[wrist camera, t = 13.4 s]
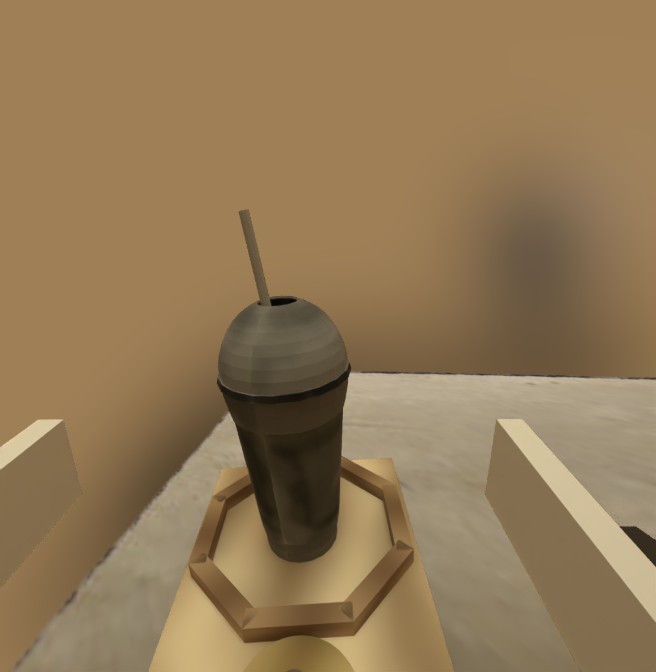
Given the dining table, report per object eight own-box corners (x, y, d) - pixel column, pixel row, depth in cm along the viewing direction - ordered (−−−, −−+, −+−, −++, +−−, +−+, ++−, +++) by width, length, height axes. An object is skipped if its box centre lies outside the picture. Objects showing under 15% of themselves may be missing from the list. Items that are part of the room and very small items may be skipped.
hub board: (391, 469, 32) (391, 439, 31) (499, 855, 13) (507, 807, 12) (223, 480, 32) (218, 450, 31) (87, 883, 13) (61, 838, 12)
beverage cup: (382, 539, 24) (375, 200, 17) (279, 611, 20) (219, 211, 14) (318, 477, 30) (294, 205, 23) (228, 524, 26) (169, 214, 19)
